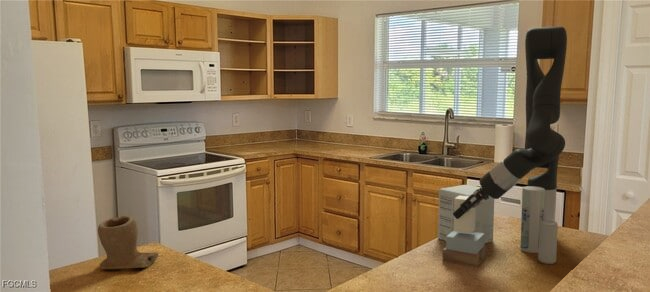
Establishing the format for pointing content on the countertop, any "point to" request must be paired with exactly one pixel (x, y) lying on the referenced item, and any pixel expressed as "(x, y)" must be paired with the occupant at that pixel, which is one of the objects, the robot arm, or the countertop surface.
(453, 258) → the walnut base block
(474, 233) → the slate-blue top block
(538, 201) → the spray can
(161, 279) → the countertop surface
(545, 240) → the beverage can
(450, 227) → the supplement box
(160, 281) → the countertop surface
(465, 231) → the cream block
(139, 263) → the stone cup
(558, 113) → the robot arm
